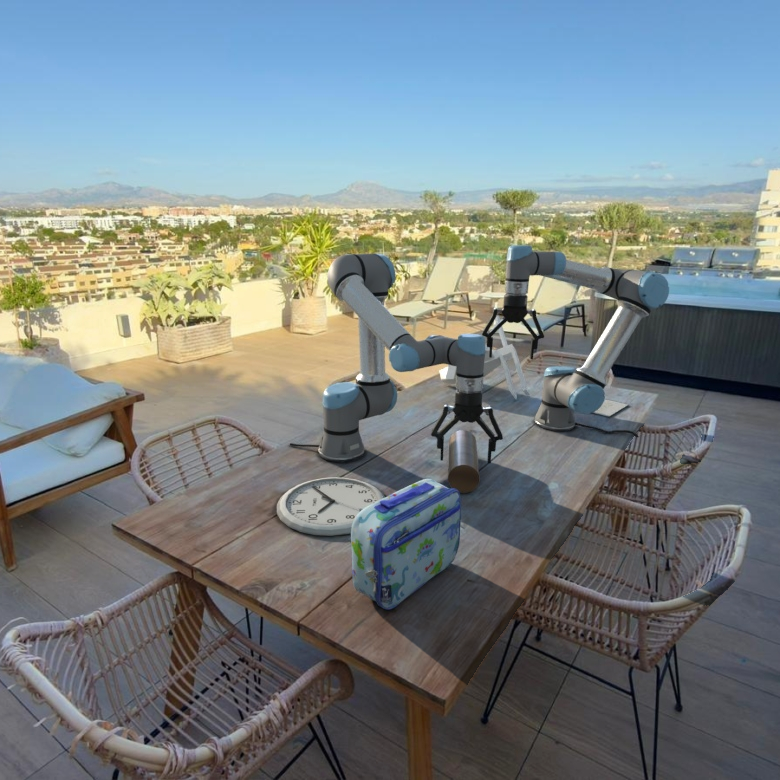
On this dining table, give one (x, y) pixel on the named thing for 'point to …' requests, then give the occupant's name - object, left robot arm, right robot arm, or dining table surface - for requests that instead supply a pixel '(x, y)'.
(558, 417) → the right robot arm
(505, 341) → the white plastic object
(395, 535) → the lunch box
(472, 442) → the rod
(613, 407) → the invitation card
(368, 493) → the wall clock
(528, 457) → the dining table surface
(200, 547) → the dining table surface
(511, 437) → the dining table surface
